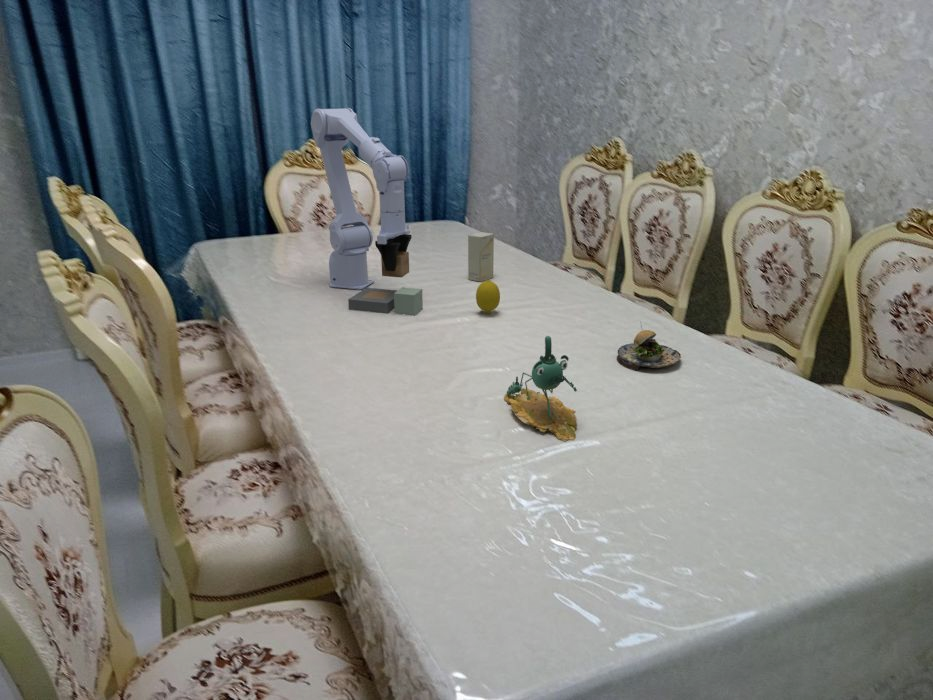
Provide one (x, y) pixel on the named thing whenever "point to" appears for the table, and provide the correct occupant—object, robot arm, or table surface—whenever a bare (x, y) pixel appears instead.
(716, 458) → the table surface
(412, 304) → the sage cube
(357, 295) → the charcoal block
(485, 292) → the lemon
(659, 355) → the burger
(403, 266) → the walnut cube
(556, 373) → the green creature figurine
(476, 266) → the skincare box
